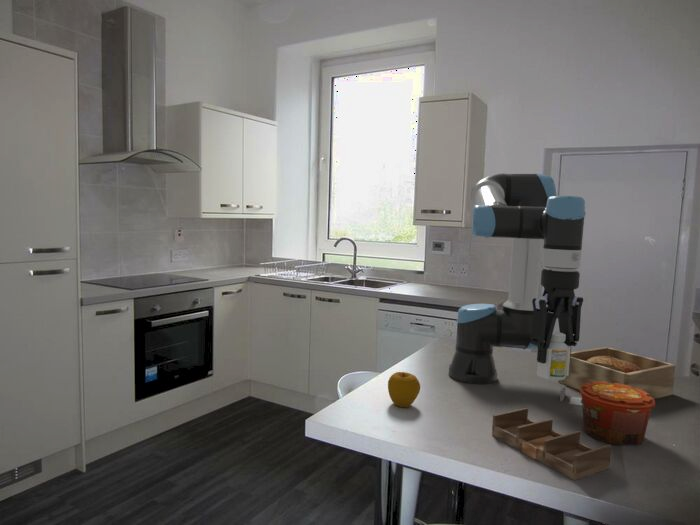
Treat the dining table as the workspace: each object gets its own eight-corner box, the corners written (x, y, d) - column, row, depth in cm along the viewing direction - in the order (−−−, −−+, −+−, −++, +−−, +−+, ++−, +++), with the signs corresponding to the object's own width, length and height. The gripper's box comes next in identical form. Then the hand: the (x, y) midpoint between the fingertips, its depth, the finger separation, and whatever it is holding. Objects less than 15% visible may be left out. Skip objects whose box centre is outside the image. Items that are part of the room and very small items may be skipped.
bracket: (598, 411, 134) (599, 399, 133) (559, 402, 139) (560, 390, 139) (601, 404, 139) (602, 392, 139) (563, 396, 144) (564, 384, 144)
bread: (567, 383, 154) (569, 352, 153) (590, 373, 166) (593, 344, 165) (639, 403, 139) (642, 369, 138) (659, 390, 151) (662, 358, 150)
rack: (491, 435, 115) (492, 415, 115) (524, 426, 120) (526, 407, 120) (573, 480, 96) (575, 456, 95) (609, 468, 101) (611, 445, 101)
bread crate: (556, 381, 156) (558, 354, 155) (604, 372, 168) (606, 346, 167) (625, 406, 137) (627, 375, 136) (673, 394, 149) (676, 365, 148)
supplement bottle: (561, 382, 103) (564, 337, 102) (535, 376, 106) (538, 333, 106) (569, 376, 107) (572, 333, 106) (544, 371, 111) (547, 329, 110)
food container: (616, 419, 128) (620, 379, 127) (668, 447, 112) (672, 402, 111) (562, 422, 124) (565, 381, 123) (608, 452, 109) (612, 405, 108)
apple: (422, 402, 134) (424, 371, 133) (413, 413, 126) (415, 380, 125) (393, 397, 138) (394, 366, 137) (382, 407, 130) (383, 374, 129)
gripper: (545, 271, 97) (537, 386, 99) (604, 270, 106) (595, 375, 108) (516, 268, 103) (509, 375, 105) (573, 266, 112) (565, 366, 114)
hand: (552, 375), depth 107 cm, fingers closed on supplement bottle, 5 cm apart
